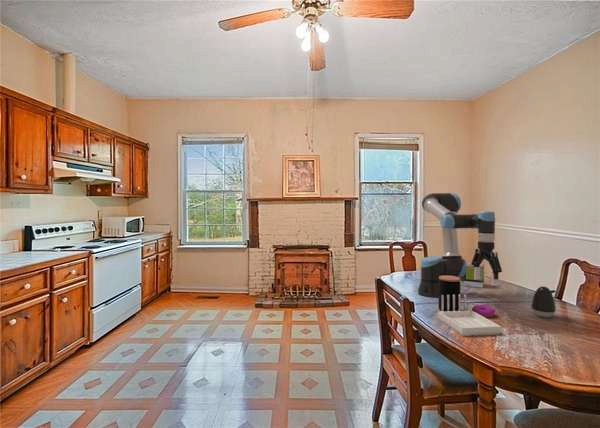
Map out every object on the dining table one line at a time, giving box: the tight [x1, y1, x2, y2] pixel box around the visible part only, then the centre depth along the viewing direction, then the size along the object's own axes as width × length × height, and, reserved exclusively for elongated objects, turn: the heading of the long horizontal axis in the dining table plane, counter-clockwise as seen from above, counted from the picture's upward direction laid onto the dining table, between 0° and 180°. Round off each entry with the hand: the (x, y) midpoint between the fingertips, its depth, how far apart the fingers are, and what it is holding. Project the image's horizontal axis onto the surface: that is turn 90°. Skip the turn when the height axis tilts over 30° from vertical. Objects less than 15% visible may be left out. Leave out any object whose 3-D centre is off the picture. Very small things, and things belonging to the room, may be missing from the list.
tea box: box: [459, 262, 485, 288], centre depth 236 cm, size 15×10×15 cm
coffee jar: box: [438, 275, 461, 311], centre depth 183 cm, size 11×11×18 cm
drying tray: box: [437, 310, 502, 337], centre depth 161 cm, size 22×18×4 cm
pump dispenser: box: [530, 286, 557, 319], centre depth 174 cm, size 10×10×15 cm
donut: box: [471, 304, 496, 319], centre depth 176 cm, size 10×10×5 cm
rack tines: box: [440, 293, 467, 312], centre depth 173 cm, size 2×16×12 cm, turn 95°
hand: (485, 282), depth 176 cm, fingers open, 13 cm apart
